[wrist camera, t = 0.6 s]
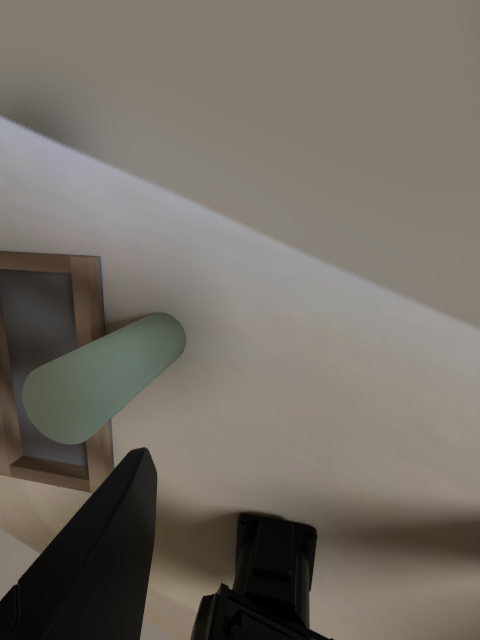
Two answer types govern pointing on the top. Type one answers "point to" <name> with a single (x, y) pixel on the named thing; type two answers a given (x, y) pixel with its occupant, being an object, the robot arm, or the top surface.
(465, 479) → the top surface
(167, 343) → the post
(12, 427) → the brown wooden flat tray
